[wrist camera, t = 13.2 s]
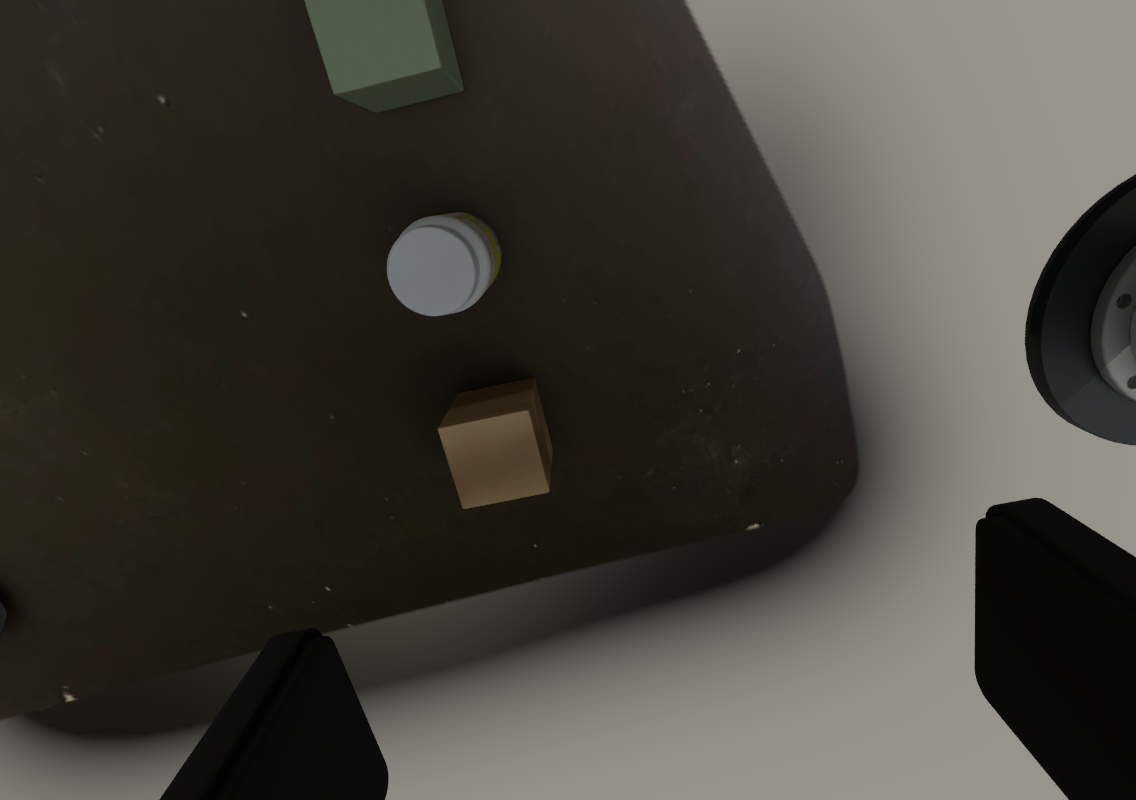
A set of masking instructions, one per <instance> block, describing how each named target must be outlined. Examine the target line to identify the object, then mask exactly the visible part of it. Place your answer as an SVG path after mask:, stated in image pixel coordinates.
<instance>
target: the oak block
mask: <svg viewBox="0 0 1136 800" xmlns="http://www.w3.org/2000/svg"><path fill="white" fill-rule="evenodd" d="M438 432H439V435H440V438H441V441H442V444H443V448H444V451H445V454H446V457H447V460H448V463H449V467H450V470H451V473H452V476H453V479H454V483H455V486H456V489H457V492H458V495H459V498H460V502H461V505H462V508H463V509H467V508H472V507H477V506H482V505H487V504H492V503H497V502H503V501H508V500H513V499H518V498H523V497H528V496H533V495H538V494H543V493H548V492H549V491H550V477H551V463H552V444H551V440H550V436H549V432H548V428H547V424H546V420H545V416H544V412H543V408H542V404H541V400H540V396H539V392H538V388H537V384H536V380H535V378H534V377H533V378H528V379H524V380H519V381H514V382H509V383H505V384H500V385H495V386H490V387H486V388H481V389H476V390H472V391H467V392H462V393H458V394H457V396H456V398H455V399H454V401H453V403H452V405H451V406H450V408H449V410H448V412H447V413H446V415H445V417H444V419H443V420H442V422H441V424H440V426H439V427H438Z"/></svg>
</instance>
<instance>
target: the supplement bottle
mask: <svg viewBox="0 0 1136 800" xmlns="http://www.w3.org/2000/svg"><path fill="white" fill-rule="evenodd" d="M501 262H502V251H501V246H500V243H499V240H498V238H497V236H496V234H495V232H494V231H493V230H492V228H491V227H490V226H489V225H488V224H487V223H486V222H485V221H483V220H482V219H480V218H478V217H477V216H474V215H472V214H468V213H462V212H455V213H447V214H442V215H436V216H429V217H425V218H421V219H419V220H417V221H415V222H413V223H412V224H411V225H409V226H408V227H407V228H406V229H405V230H404V231H403V232H402V234H401V235H400V236H399V238H398V240H397V241H396V242H395V243H394V245H393V247H392V248H391V251H390V253H389V256H388V261H387V276H388V280H389V284H390V286H391V288H392V290H393V292H394V294H395V295H396V297H397V298H398V299H399V300H400V301H401V302H402V303H403V304H404V305H405V306H406V307H408V308H409V309H411V310H413V311H415V312H417V313H419V314H422V315H427V316H441V315H446V314H452V313H457V312H460V311H463V310H465V309H467V308H469V307H470V306H472V305H473V304H474V303H476V302H477V301H478V300H479V299H480V298H481V296H482V295H483V294H484V293H485V291H486V290H487V289H488V288H489V287H490V285H491V284H492V283H493V282H494V280H495V279H496V277H497V275H498V273H499V270H500V267H501Z"/></svg>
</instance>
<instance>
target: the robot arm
mask: <svg viewBox="0 0 1136 800" xmlns="http://www.w3.org/2000/svg"><path fill="white" fill-rule="evenodd" d="M1090 335H1091V351H1092V354H1093V358H1094V362H1095V365H1096V367H1097V369H1098V370H1099V372H1100V374H1101V376H1102V378H1103V379H1104V380H1105V381H1106V382H1107V383H1108V384H1109V385H1110V386H1111V387H1112V388H1113V389H1114V390H1115V391H1116V392H1118V393H1120V394H1121V395H1123V396H1125V397H1126V398H1128V399H1131V400H1133V401H1136V245H1135V246H1134V247H1133V248H1132V249H1131V250H1130V251H1129V252H1128V253H1127V254H1126V255H1125V256H1124V257H1123V259H1122V260H1121V261H1120V262H1119V264H1118V265H1117V266H1116V268H1115V269H1114V270H1113V272H1112V273H1111V275H1110V276H1109V278H1108V280H1107V282H1106V284H1105V285H1104V287H1103V289H1102V291H1101V293H1100V295H1099V298H1098V301H1097V304H1096V307H1095V309H1094V312H1093V318H1092V324H1091V330H1090ZM975 559H976V561H975V567H976V568H975V675H976V679H977V682H978V685H979V687H980V689H981V691H982V693H983V695H984V696H985V698H986V699H987V701H988V702H989V703H990V704H991V706H992V707H993V708H994V709H995V710H996V712H997V713H998V714H999V715H1000V716H1001V718H1002V719H1003V720H1004V721H1005V723H1006V724H1007V725H1008V726H1009V728H1010V729H1011V730H1012V731H1013V732H1014V734H1015V735H1016V736H1017V737H1018V738H1019V740H1020V741H1021V742H1022V743H1023V744H1024V746H1025V747H1026V748H1027V749H1028V750H1029V752H1030V753H1031V754H1032V755H1033V756H1034V758H1035V759H1036V760H1037V762H1038V763H1039V764H1040V765H1041V766H1042V767H1043V769H1044V770H1045V771H1046V772H1047V774H1048V775H1049V776H1050V777H1051V779H1052V780H1053V781H1054V782H1055V783H1056V785H1057V786H1058V787H1059V788H1060V789H1061V791H1062V792H1063V793H1064V794H1065V796H1067V798H1068V799H1069V800H1136V557H1134V556H1133V555H1131V554H1130V553H1128V552H1126V551H1125V550H1123V549H1122V548H1120V547H1119V546H1117V545H1116V544H1114V543H1112V542H1111V541H1109V540H1108V539H1106V538H1104V537H1103V536H1101V535H1100V534H1098V533H1097V532H1095V531H1093V530H1092V529H1090V528H1089V527H1087V526H1086V525H1084V524H1083V523H1081V522H1080V521H1078V520H1076V519H1075V518H1073V517H1072V516H1070V515H1069V514H1067V513H1065V512H1064V511H1062V510H1061V509H1059V508H1057V507H1056V506H1055V505H1053V504H1051V503H1050V502H1048V501H1046V500H1044V499H1042V498H1031V499H1026V500H1020V501H1016V502H1009V503H1004V504H998V505H993V506H992V507H990V508H989V509H988V511H987V512H986V518H982V519H980V520H979V521H978V522H977V524H976V558H975ZM387 789H388V769H387V765H386V762H385V760H384V758H383V755H382V753H381V751H380V748H379V746H378V744H377V741H376V739H375V737H374V734H373V732H372V730H371V727H370V725H369V723H368V721H367V718H366V716H365V713H364V711H363V709H362V706H361V704H360V702H359V699H358V697H357V695H356V693H355V690H354V688H353V685H352V683H351V681H350V679H349V676H348V674H347V671H346V669H345V667H344V664H343V662H342V660H341V658H340V655H339V653H338V650H337V648H336V646H335V644H334V642H333V640H332V639H331V638H330V637H328V636H323V635H322V634H321V632H320V631H318V630H317V629H314V628H310V629H304V630H299V631H293V632H288V633H282V634H277V635H275V636H273V637H272V638H271V639H270V640H269V641H268V642H267V644H266V645H265V647H264V648H263V650H262V651H261V653H260V654H259V656H258V657H257V659H256V660H255V661H254V663H253V664H252V666H251V667H250V669H249V670H248V672H247V673H246V674H245V676H244V677H243V679H242V680H241V682H240V683H239V685H238V686H237V688H236V689H235V690H234V692H233V693H232V695H231V696H230V698H229V699H228V701H227V702H226V704H225V705H224V706H223V708H222V709H221V711H220V712H219V714H218V715H217V717H216V718H215V720H214V721H213V722H212V724H211V725H210V727H209V728H208V730H207V731H206V733H205V734H204V736H203V737H202V738H201V740H200V741H199V743H198V744H197V746H196V747H195V749H194V750H193V752H192V753H191V754H190V756H189V757H188V759H187V760H186V762H185V763H184V765H183V766H182V768H181V769H180V770H179V772H178V773H177V775H176V776H175V778H174V779H173V781H172V782H171V784H170V785H169V787H168V788H167V790H166V791H165V792H164V794H163V795H162V797H161V798H160V800H385V797H386V794H387Z"/></svg>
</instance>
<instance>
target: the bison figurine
mask: <svg viewBox="0 0 1136 800" xmlns="http://www.w3.org/2000/svg"><path fill="white" fill-rule="evenodd" d="M6 616H7V614H6V609H5V607H4V606H3V604H2V603H1V602H0V639H1V633H2V630H3V626H4V622H5V619H6Z"/></svg>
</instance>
